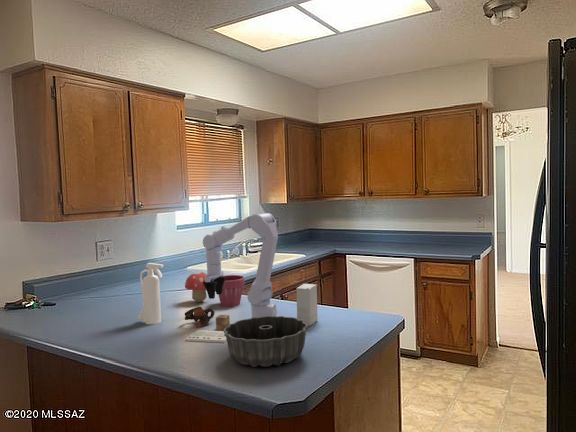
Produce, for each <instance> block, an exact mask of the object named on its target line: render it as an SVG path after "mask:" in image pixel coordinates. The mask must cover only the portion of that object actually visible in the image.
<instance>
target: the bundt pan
mask: <svg viewBox="0 0 576 432" xmlns="http://www.w3.org/2000/svg"><path fill="white" fill-rule="evenodd" d="M308 327H309V326H308V325H307V324H306V323H304V321H303V320H299V319H297V317H293V316H292V317H291V316H283V315H279V316H278V315H277V317H276V316H264V317H258V318H252V317H250V318H246V319H240V320H238V321H235V322H233V323H230V324H229V325H228V327H226V328H224V336H226V339H227V341H226V343H227V348H228V352H229V356H230V357H231V358H232V359H233V360H234V361H235V362H237V363H240V364H242V365H245V366H251V367H253V368H256V367H258V366H260V367H263V368H266V367H270V366H272V365H274V366H276V367H279V366H280V365H281V364H287V363H290V362H291V361H293V360H296V359H298V358H299V357H300V356H301V355H302V353H303V350H304V348H305V344H306V334H307V328H308Z"/></svg>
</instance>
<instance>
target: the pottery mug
mask: <svg viewBox="0 0 576 432" xmlns="http://www.w3.org/2000/svg"><path fill="white" fill-rule="evenodd" d="M209 313H210V315H209ZM215 313H216V312H215V310H214V309H213V308H211V307H208V308H206V309H203V307H202V306H196V307H193V308H192V309H188V310H187V311H185V312H184V316H185V317H184V320H185V321H188V320H189V321H194V322H195V323H194V325H195V327H196V329H198V328H200V327H203V326H204V327H205V326H208V325H209V322H210V321H211V319H213V318H214V316H215Z"/></svg>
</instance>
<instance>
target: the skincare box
mask: <svg viewBox="0 0 576 432" xmlns="http://www.w3.org/2000/svg"><path fill="white" fill-rule="evenodd" d="M317 287H318V285H317V284H313V283H302V284H301V285H300V286H298V287H296V318H297V319H299V320H303V321H304V323H306V324H307V325H308V327H310V326H312V325H313V324H315V323H316V322H317V321H318V320H319V319H318V288H317Z"/></svg>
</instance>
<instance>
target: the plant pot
mask: <svg viewBox="0 0 576 432" xmlns="http://www.w3.org/2000/svg"><path fill="white" fill-rule="evenodd" d="M223 277H226V279H225V282H224V285H223V290H222V294H217V295H218V298H219V303H220V306H222V307H235V306H238V305H241V301H242V295H243V294H242V293H243V289H244V286H245V284H246V283H245V282H246V281H245V276H243V275H238V274H229V275H228V274H227V275H226V274H225V275H223Z"/></svg>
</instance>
